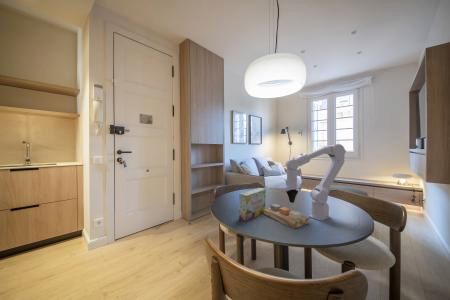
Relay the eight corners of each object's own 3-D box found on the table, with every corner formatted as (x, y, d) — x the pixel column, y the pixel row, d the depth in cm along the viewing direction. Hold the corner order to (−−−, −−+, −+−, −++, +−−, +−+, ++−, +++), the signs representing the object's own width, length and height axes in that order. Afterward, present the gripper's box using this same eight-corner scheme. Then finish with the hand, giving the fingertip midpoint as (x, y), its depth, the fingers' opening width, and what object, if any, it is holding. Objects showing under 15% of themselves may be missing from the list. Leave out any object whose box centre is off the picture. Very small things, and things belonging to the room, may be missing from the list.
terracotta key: (284, 213, 105) (284, 207, 104) (290, 216, 101) (290, 209, 101) (279, 215, 102) (279, 208, 102) (285, 217, 99) (285, 210, 98)
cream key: (294, 217, 99) (294, 210, 98) (301, 220, 95) (301, 213, 95) (289, 219, 96) (289, 212, 96) (296, 222, 92) (296, 214, 92)
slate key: (275, 210, 111) (275, 203, 111) (281, 212, 107) (281, 205, 107) (270, 211, 108) (270, 205, 108) (276, 213, 105) (276, 207, 105)
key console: (277, 210, 114) (277, 206, 114) (308, 223, 95) (308, 217, 95) (264, 214, 108) (263, 209, 108) (294, 228, 89) (294, 222, 89)
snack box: (246, 222, 97) (246, 195, 96) (238, 219, 100) (238, 193, 100) (265, 211, 112) (265, 188, 112) (258, 209, 116) (258, 187, 116)
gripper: (294, 177, 111) (294, 198, 112) (278, 179, 104) (278, 202, 104) (304, 179, 105) (304, 201, 105) (287, 181, 98) (287, 205, 98)
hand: (291, 202), depth 104 cm, fingers closed
